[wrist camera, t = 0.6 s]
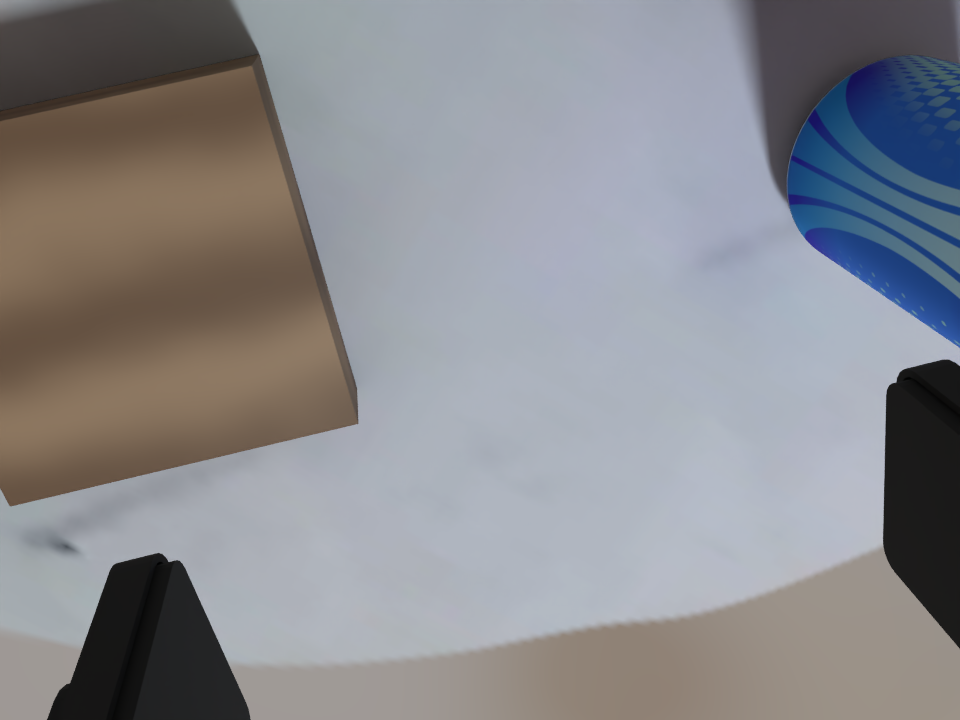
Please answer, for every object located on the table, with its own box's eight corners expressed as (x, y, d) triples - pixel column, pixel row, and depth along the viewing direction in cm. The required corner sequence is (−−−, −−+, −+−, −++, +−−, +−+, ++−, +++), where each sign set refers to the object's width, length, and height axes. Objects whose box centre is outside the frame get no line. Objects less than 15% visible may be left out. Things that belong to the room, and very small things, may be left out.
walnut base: (-132, 140, 31) (-176, 160, 29) (259, 54, 32) (251, 65, 29) (33, 465, 38) (9, 506, 35) (357, 388, 38) (358, 423, 36)
